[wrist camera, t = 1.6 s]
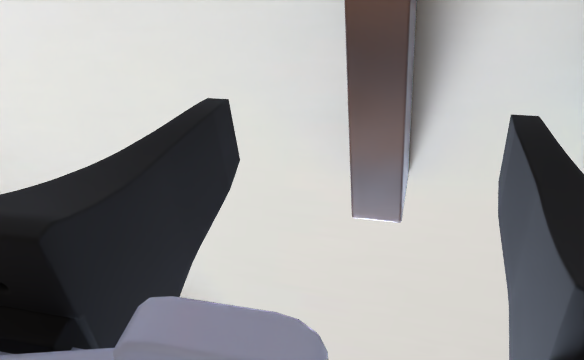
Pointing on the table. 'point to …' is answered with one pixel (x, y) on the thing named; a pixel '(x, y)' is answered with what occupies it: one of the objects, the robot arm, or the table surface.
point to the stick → (379, 104)
